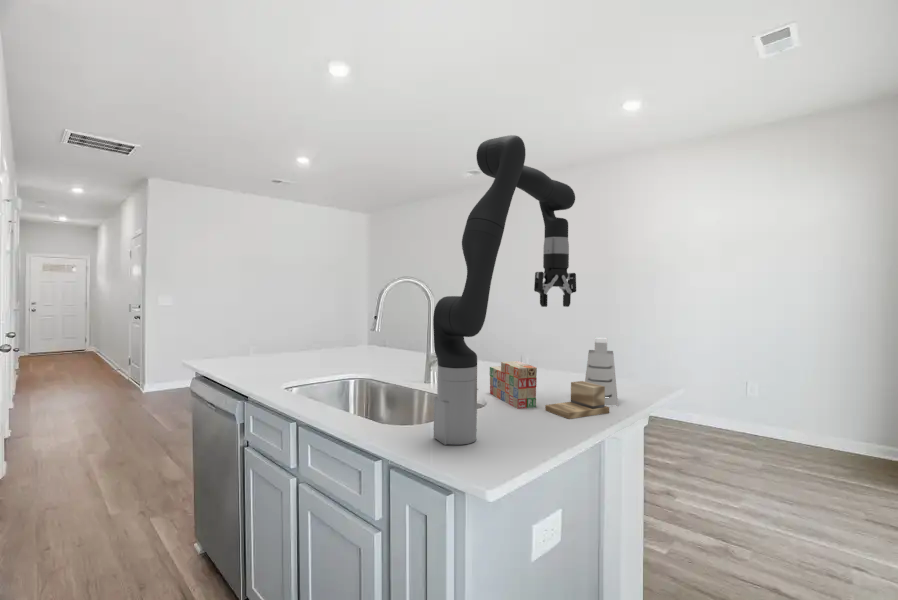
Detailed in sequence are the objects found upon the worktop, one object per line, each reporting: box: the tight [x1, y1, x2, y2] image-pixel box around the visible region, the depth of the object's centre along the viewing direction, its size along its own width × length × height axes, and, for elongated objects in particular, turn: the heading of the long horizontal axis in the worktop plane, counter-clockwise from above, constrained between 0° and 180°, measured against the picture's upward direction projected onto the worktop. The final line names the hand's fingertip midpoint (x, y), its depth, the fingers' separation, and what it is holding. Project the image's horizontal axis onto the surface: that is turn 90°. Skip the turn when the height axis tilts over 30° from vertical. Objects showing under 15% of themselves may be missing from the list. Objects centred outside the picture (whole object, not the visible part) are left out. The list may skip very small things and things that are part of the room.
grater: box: [584, 336, 619, 407], centre depth 147 cm, size 10×10×20 cm
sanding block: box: [570, 380, 606, 409], centre depth 135 cm, size 4×9×6 cm, turn 27°
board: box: [544, 401, 610, 420], centre depth 133 cm, size 15×10×2 cm, turn 117°
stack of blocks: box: [489, 360, 538, 410], centre depth 147 cm, size 21×6×12 cm, turn 18°
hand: (555, 306), depth 140 cm, fingers open, 8 cm apart
